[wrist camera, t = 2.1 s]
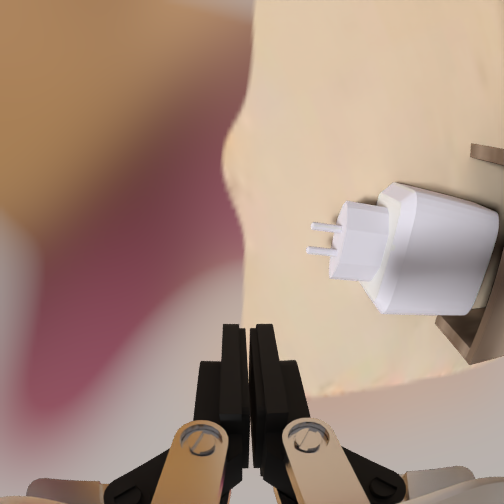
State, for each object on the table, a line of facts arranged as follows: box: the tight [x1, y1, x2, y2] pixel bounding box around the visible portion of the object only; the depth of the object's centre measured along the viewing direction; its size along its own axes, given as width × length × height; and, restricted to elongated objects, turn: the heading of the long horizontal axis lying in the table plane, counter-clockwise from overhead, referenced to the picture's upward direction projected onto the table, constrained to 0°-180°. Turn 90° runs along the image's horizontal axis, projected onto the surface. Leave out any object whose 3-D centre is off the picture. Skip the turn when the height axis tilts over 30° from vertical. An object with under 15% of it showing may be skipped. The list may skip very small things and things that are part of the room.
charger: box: [306, 182, 499, 315], centre depth 22 cm, size 5×9×15 cm
